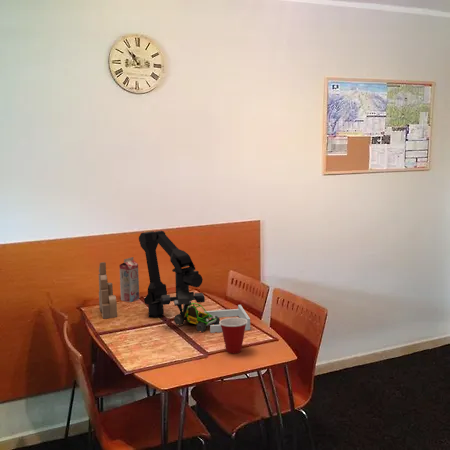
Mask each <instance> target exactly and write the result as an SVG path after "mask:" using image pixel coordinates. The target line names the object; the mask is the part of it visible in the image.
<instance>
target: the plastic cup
mask: <svg viewBox="0 0 450 450" xmlns="http://www.w3.org/2000/svg"><path fill="white" fill-rule="evenodd" d="M246 324H247V320H246V319H243V318H240V317H225V318H223V319H221V320H220V322H219V325H221V327H222V332H221V333H222V337H223V341H224V347H225V351H226V352H227V353H229V354H240V353H241V351H242V348H243V342H244V337H245V331H246V330H245V327H246Z"/></svg>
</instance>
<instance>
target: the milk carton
mask: <svg viewBox="0 0 450 450" xmlns="http://www.w3.org/2000/svg"><path fill="white" fill-rule="evenodd" d="M139 276H140V275H139V264H138V262H136V261H135V259H134V257H128V258H124V259H123V263H120V264H119V287H120V288H119V289H120V301H122V302H128V303H133V302H136V301H138V300H140V280H139V279H140V277H139Z"/></svg>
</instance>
